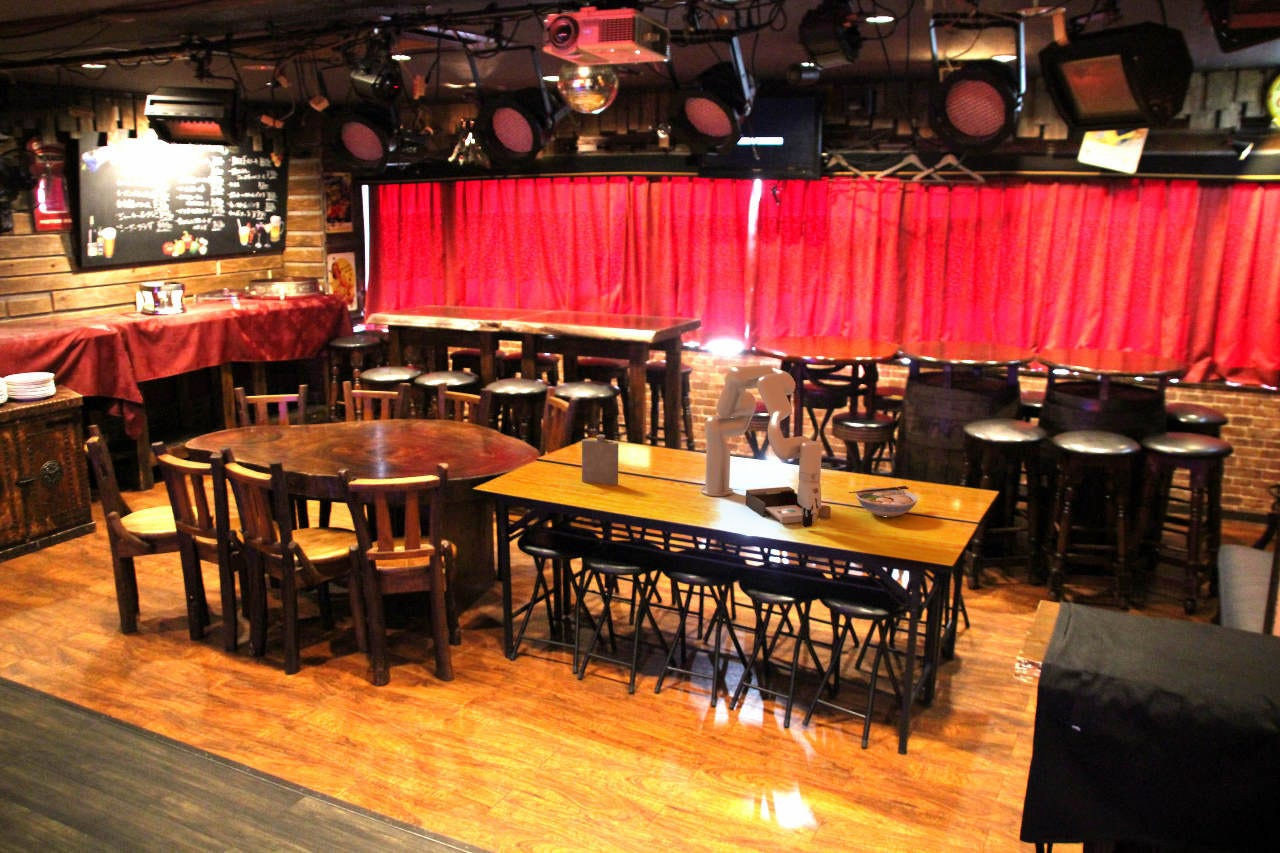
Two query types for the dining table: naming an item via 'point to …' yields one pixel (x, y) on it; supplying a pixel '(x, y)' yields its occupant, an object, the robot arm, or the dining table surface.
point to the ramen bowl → (886, 500)
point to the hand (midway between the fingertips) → (807, 526)
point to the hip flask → (600, 461)
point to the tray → (787, 518)
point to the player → (770, 499)
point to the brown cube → (824, 512)
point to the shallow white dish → (790, 511)
